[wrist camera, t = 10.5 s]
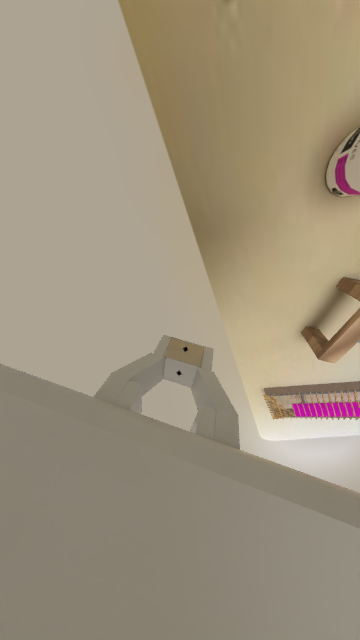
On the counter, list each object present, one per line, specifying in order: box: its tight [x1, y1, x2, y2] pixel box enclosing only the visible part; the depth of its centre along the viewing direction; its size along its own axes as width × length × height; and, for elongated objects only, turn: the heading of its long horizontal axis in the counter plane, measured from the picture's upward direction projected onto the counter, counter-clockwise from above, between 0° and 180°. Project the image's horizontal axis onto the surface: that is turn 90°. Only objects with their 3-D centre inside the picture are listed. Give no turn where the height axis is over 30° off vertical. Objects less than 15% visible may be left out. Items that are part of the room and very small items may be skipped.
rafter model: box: [264, 381, 360, 420], centre depth 46 cm, size 35×14×6 cm, turn 118°
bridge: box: [301, 277, 360, 363], centre depth 31 cm, size 3×14×9 cm, turn 172°
